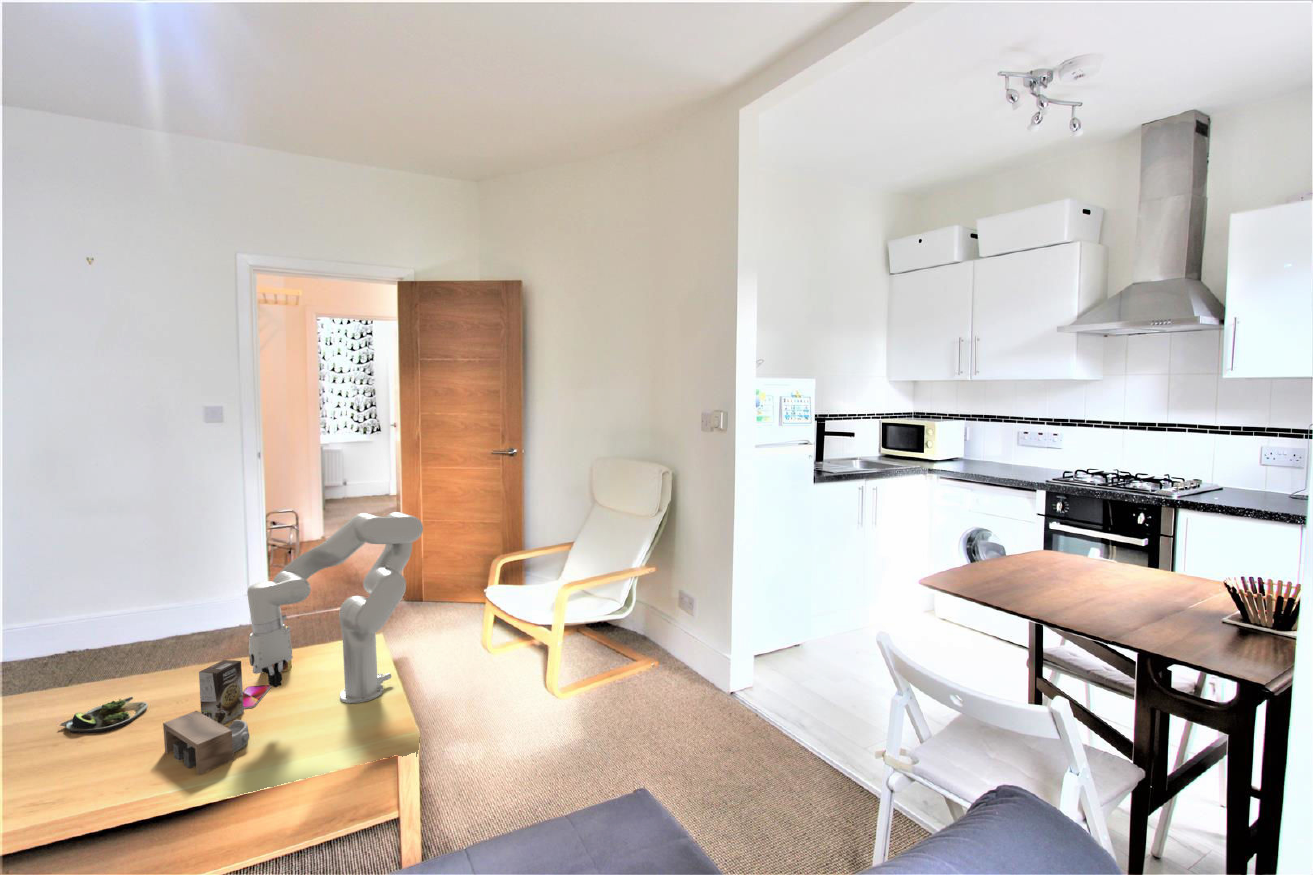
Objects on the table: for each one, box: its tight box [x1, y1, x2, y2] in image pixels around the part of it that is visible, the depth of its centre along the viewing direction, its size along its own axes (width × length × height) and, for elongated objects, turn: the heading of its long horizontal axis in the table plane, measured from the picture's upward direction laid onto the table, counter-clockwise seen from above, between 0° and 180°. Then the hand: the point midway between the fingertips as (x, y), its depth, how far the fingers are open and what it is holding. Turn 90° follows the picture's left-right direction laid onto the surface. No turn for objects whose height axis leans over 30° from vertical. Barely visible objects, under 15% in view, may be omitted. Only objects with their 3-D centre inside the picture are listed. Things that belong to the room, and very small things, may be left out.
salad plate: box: [59, 696, 149, 735], centre depth 196 cm, size 19×18×5 cm
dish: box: [187, 719, 250, 754], centre depth 178 cm, size 14×14×5 cm
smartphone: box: [243, 684, 272, 710], centre depth 207 cm, size 7×1×15 cm
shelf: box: [162, 710, 234, 776], centre depth 175 cm, size 8×20×8 cm, turn 57°
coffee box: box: [198, 659, 245, 726], centre depth 194 cm, size 9×6×16 cm
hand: (276, 685), depth 191 cm, fingers closed
